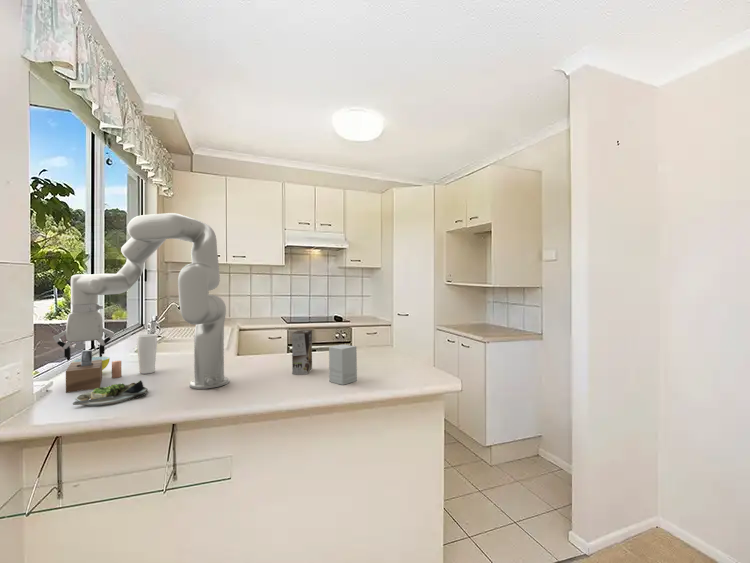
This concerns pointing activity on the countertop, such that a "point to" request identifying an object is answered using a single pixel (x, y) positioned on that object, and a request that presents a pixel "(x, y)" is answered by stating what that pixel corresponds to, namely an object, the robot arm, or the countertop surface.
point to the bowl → (104, 359)
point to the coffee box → (302, 352)
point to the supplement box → (342, 364)
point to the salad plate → (111, 394)
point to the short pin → (116, 369)
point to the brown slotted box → (83, 376)
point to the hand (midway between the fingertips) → (85, 357)
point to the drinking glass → (147, 352)
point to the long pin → (86, 358)
